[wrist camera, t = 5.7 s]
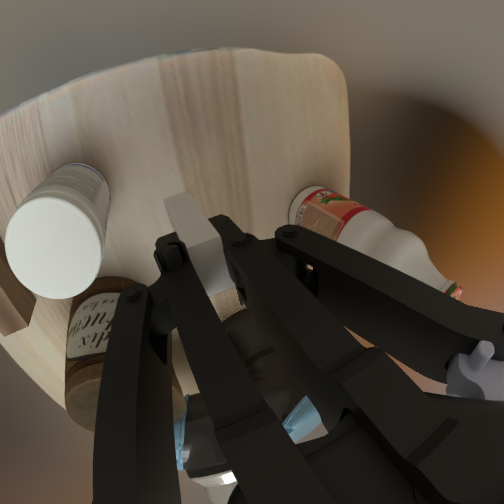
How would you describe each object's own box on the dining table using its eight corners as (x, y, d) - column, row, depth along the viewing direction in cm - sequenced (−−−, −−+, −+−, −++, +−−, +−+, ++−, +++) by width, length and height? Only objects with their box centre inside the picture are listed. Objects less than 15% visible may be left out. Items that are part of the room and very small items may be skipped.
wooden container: (157, 272, 38) (197, 400, 21) (160, 343, 44) (196, 454, 27) (62, 278, 32) (41, 412, 14) (82, 349, 38) (90, 465, 21)
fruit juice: (276, 216, 42) (421, 331, 20) (313, 173, 41) (474, 252, 19) (307, 246, 48) (428, 348, 26) (339, 206, 47) (471, 288, 25)
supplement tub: (33, 186, 25) (-17, 233, 13) (91, 147, 26) (63, 168, 15) (67, 246, 30) (45, 317, 19) (123, 212, 32) (123, 271, 20)
